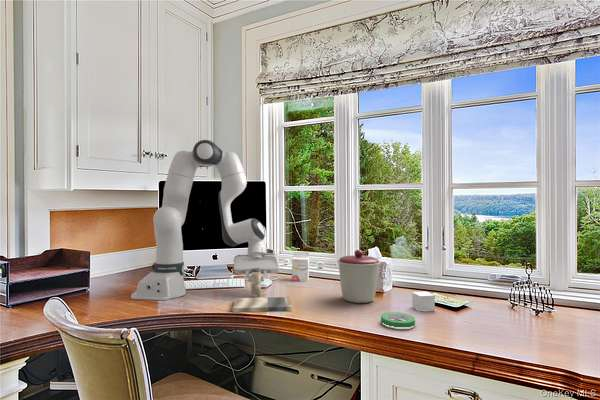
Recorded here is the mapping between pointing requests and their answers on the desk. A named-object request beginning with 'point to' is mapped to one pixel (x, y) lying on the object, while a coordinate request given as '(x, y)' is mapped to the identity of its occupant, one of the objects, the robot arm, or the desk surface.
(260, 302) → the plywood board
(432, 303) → the adhesive note
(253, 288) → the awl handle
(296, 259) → the ink cartridge box
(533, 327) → the desk surface
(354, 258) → the canister
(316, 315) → the desk surface
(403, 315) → the tape roll
